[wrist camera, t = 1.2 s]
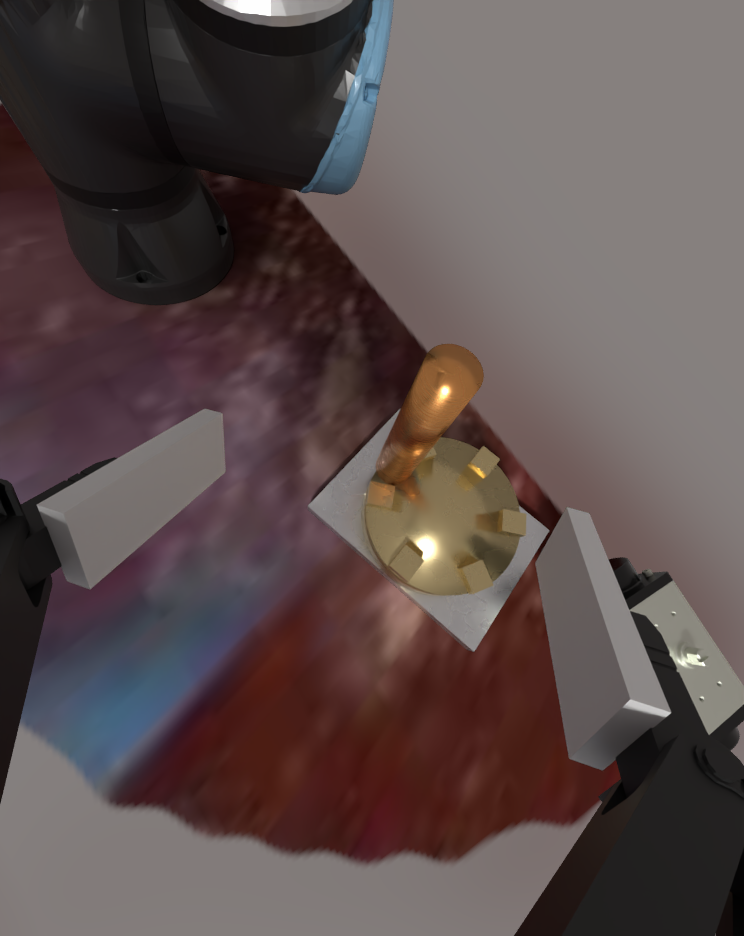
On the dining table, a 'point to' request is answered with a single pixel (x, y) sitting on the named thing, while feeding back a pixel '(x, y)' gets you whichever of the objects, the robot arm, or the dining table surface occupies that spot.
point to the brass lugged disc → (440, 490)
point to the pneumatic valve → (687, 648)
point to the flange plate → (452, 613)
